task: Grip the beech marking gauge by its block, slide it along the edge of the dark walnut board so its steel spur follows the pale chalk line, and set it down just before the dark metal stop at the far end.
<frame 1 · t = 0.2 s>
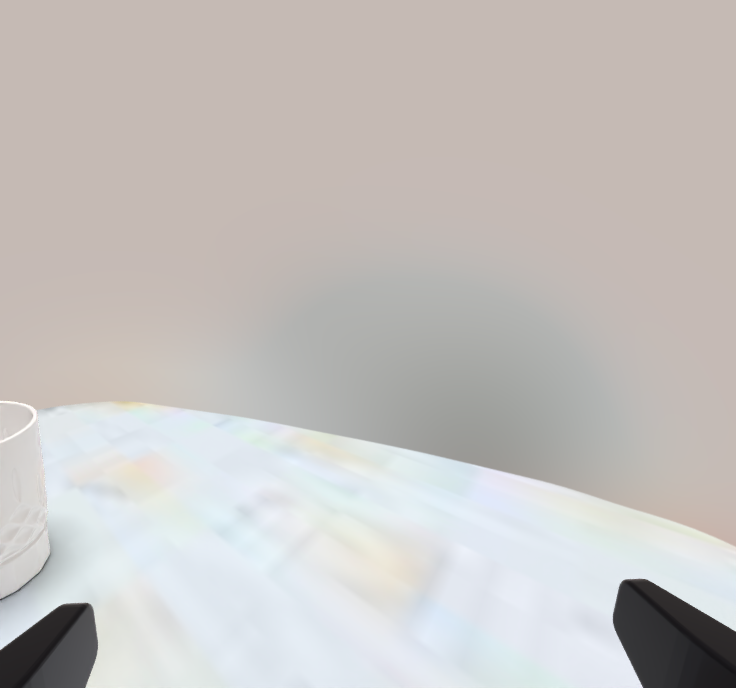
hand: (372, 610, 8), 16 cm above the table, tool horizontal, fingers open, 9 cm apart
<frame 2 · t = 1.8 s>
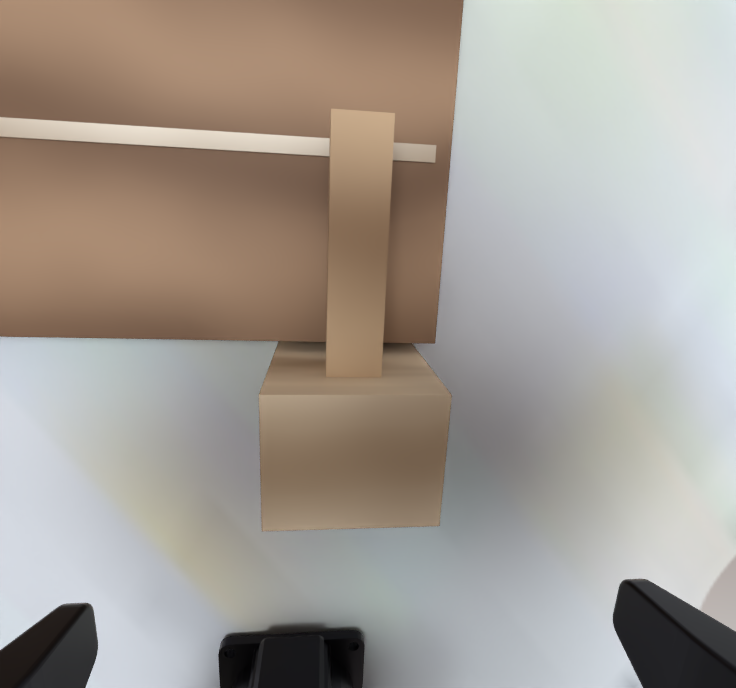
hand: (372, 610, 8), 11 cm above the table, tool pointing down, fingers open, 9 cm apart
marking gauge: (344, 387, 18), on the table
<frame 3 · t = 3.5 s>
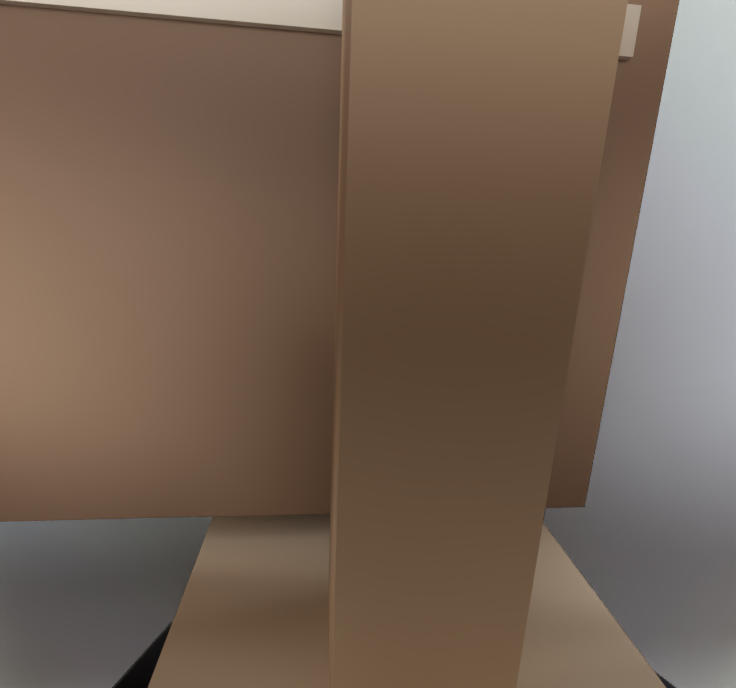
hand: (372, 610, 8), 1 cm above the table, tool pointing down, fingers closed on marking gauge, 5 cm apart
marking gauge: (364, 554, 9), on the table, touching gripper
when the fingers open (1 cm above the table, at t = 10.7 s): marking gauge stays where it is, on the table.
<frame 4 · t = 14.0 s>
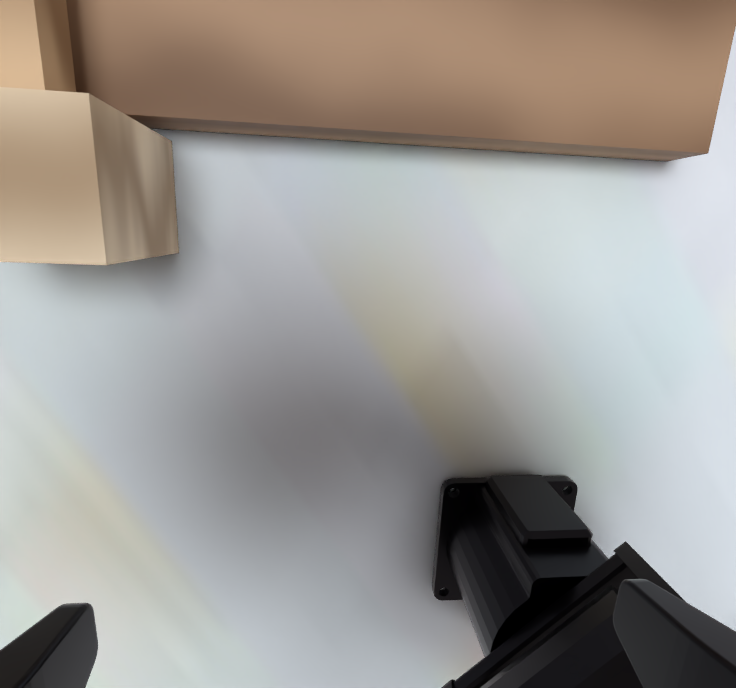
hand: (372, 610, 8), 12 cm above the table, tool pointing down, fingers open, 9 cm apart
marking gauge: (105, 195, 16), on the table
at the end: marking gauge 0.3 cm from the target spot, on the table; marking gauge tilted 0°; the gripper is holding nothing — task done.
